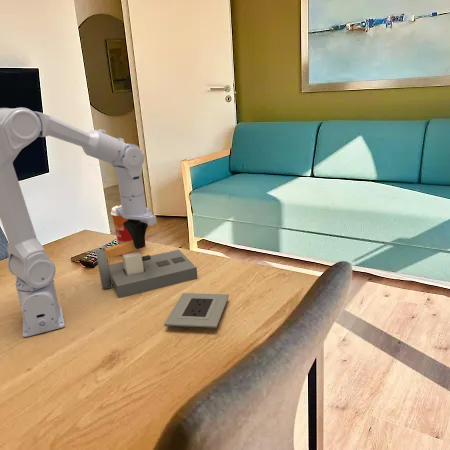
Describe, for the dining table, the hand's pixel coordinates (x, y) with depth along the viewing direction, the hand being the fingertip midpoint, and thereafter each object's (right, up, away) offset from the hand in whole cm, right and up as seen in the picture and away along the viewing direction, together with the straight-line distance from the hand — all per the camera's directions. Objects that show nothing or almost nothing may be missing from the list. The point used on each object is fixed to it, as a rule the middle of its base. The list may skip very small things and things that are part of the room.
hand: (140, 247), depth 108 cm
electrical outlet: (+16, -14, -17) cm, 27 cm away
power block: (+2, -8, +3) cm, 9 cm away
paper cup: (-7, -3, +20) cm, 21 cm away
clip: (-4, -8, +1) cm, 9 cm away
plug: (0, -8, +2) cm, 9 cm away
